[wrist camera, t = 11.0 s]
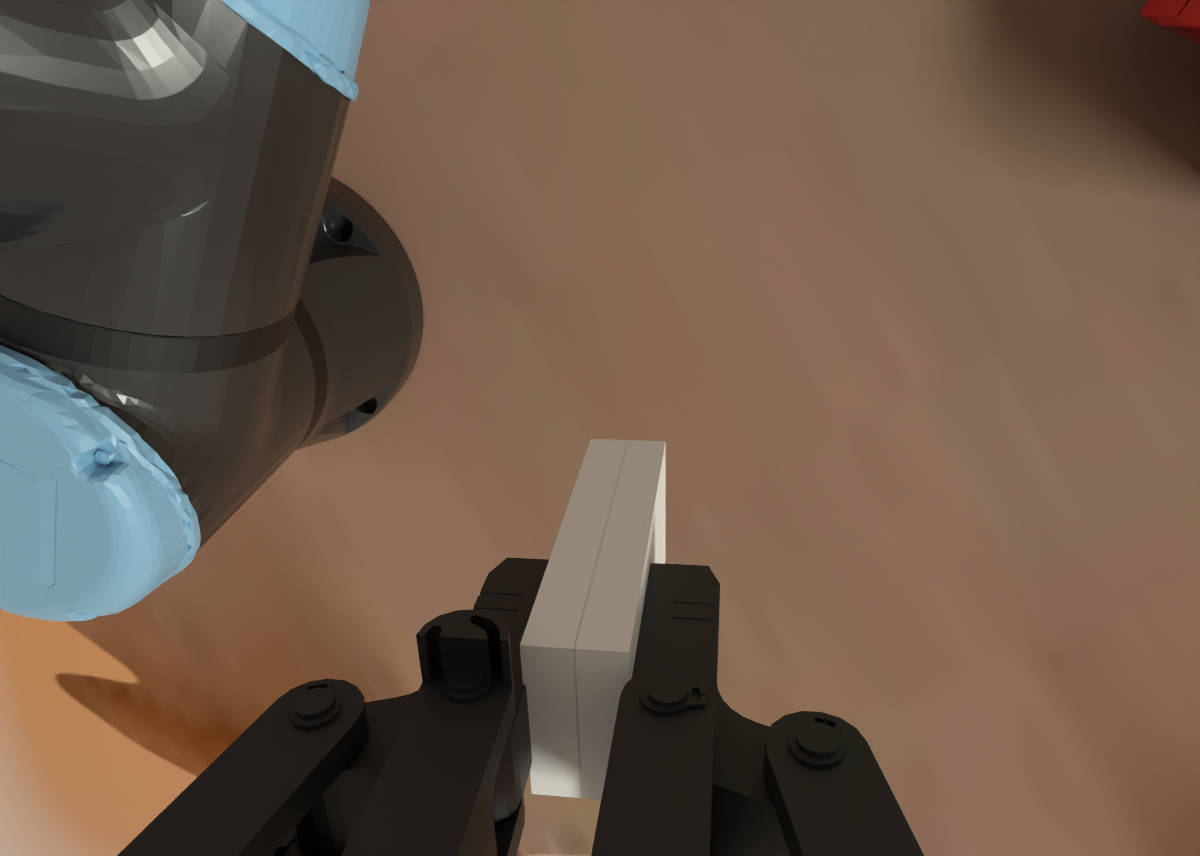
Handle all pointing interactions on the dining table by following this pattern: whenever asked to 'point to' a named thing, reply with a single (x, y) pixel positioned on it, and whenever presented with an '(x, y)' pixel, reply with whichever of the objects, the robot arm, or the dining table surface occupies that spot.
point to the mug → (1175, 16)
